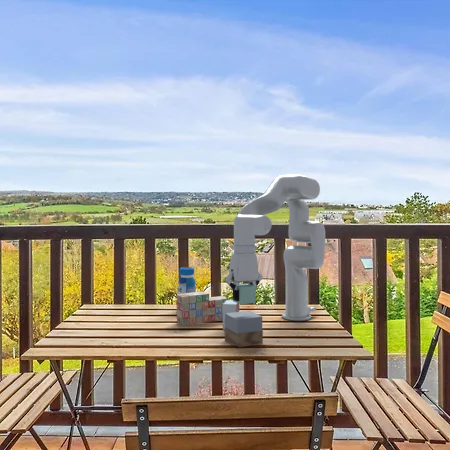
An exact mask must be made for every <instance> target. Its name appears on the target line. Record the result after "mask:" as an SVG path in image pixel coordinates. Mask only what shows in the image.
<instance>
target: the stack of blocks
mask: <svg viewBox="0 0 450 450" xmlns="http://www.w3.org/2000/svg"><path fill="white" fill-rule="evenodd" d="M226 300H229V298H228V297H224V296H221V295H219V296H218V295H217V296H210V293H209V292H206V291H196V292H192V293H185V294H178V293H177V294H176V302H175V303H176V323H178V324H179V325H181V326H183V327H184V326H192V325H198V324H206V323H211V322H218V321H223V304H224V303H225V301H226Z"/></svg>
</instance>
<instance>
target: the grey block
mask: <svg viewBox="0 0 450 450" xmlns="http://www.w3.org/2000/svg"><path fill="white" fill-rule="evenodd" d="M225 327H226V328H228V329H230V330H231V331H233V332H235V333H237V334H240V333H248V332H255V331H262V330H263V316H262V315H260V314H257V313H255V312H253V311H251V310H244V311H243V310H242V311H239V312H233V313H225Z"/></svg>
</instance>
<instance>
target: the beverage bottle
mask: <svg viewBox="0 0 450 450" xmlns="http://www.w3.org/2000/svg"><path fill="white" fill-rule="evenodd" d="M194 275H195V268H194V267H191V266H183V267H180V268H179V276H180V277H179V279H178V283H177V284H178V286H177V290H178V292H177V294H185V293H192V292H197V286H196V283H197V282H196V278H195V277H194Z"/></svg>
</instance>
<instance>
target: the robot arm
mask: <svg viewBox="0 0 450 450" xmlns="http://www.w3.org/2000/svg"><path fill="white" fill-rule="evenodd" d="M320 191H321V187H320V184H319V182H318V180H316V179H315V178H311V177H309V176H306V175H304V174H281V175H278V176H276V177H275V178H274V179H273V180H272V182H271V183H270V185H269V186H268V187H267V189H266V190H265V191H264V193H263V194H261V196H259V197H256V198H255V199H253V200H251V201H250V202H248V203H246V204H245V205H244V206H243V207H242V208H241V209H240V210H239V212H238V213H237V215H236V216H235V217H234V219H233V253H231V255H230V256H231V257H230V260H229V268H228V269H229V271H228V275H227V277H226V278H225V279H224V281H225V283H226V284H227V285H228V286H229V287H230V289H231V290H232V300H235V301H239V290H238V287H239V284H241V283H248V284H250V285H254V286H256V289H257V287H258V285H259V284H260V282H262V280H263V275H262V274H261V273H260V271H259V264H258V256H257V254H256V250H258V246H256V245H255V242H256V241H255V240H256V236H265V235H267V234H268V233H269V232H270V231H271V229H272V226H273V225H272V220H271V219H270V218H269V216H267V215H269V214H272V213H274V212H277V211H279V210H280V209H281V207H282V206H283V204H284V203H285V202H286V204H287V207H288V210H289V211H288V212H289V213H288V215H289V217H288V238H289V239H288V240H290V241H291V242H294V243H305V244H310V245H311V246H309V245H295V244H294V245H289V246H286V248H285V249H284V250H283V262H284V269H285V312H283V313H282V315H281V317H282V318H283V319H284V320H287V321H293V322H294V321H296V322H302V321H308V320H311V319H312V315H311V314H310V313H311V312H312V313H313V312H316V311H317V307H316V306H312V307H310V306H308V305H309V304H308V299H309V296H308V295H309V294H308V293H309V291H308V289H309V287H308V286H309V284H308V283H309V280H308V275H307V272H306V271H305V269H310V270H311V269H313V270H318V269H321V268H322V267H323V265H324V262H325V249H326V229H325V226H324V224H323V223H322V222H321V221H318V220H310V208H309V206H308V204H307V203H306V201H305V200H307V201H308V200H309V201H310V200H316V199H317V198H318V197H319V195H320V193H321V192H320Z"/></svg>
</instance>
